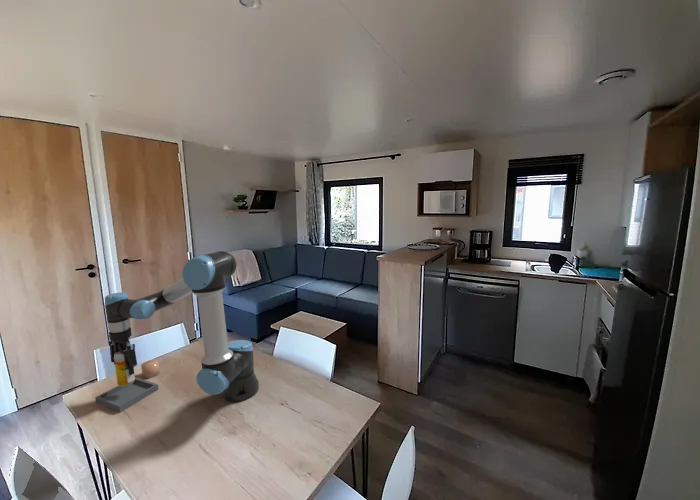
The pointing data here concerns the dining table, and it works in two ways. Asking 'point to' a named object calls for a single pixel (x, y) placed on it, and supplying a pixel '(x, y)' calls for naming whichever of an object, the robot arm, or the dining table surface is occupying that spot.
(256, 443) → the dining table surface
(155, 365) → the light brown rounded lump
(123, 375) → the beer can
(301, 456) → the dining table surface
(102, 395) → the tray
